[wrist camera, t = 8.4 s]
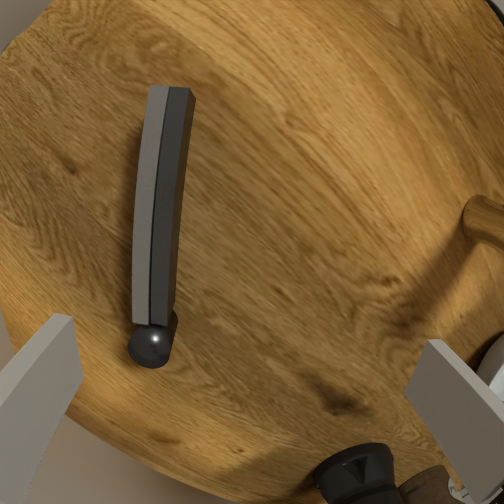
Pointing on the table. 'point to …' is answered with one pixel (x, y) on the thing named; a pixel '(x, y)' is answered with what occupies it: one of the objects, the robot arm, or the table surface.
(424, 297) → the table surface
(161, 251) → the blade
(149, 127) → the bar
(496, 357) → the cereal bowl
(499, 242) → the beer glass
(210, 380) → the table surface
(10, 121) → the table surface
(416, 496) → the brown lidded jar
